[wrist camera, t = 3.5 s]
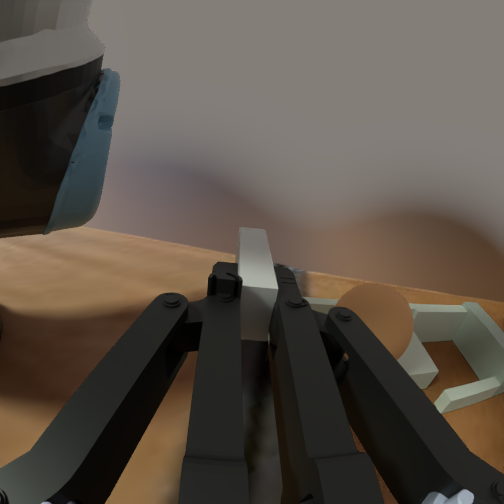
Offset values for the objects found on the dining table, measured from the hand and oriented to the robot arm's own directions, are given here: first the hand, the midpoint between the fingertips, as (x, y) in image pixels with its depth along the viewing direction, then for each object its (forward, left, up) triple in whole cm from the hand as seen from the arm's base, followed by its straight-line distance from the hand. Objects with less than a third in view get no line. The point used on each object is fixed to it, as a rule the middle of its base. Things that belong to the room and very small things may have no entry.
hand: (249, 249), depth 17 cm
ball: (+7, +8, -6) cm, 12 cm away
